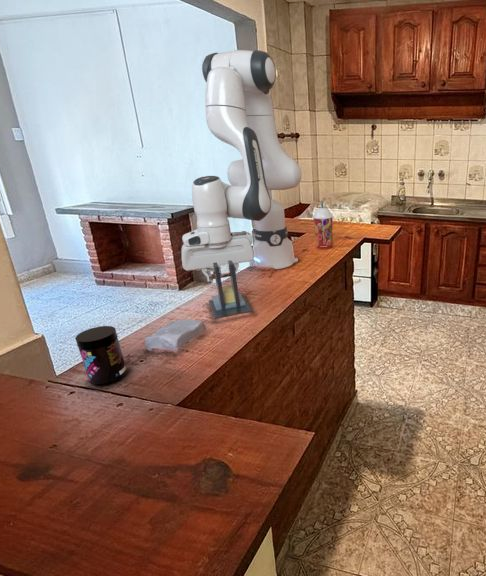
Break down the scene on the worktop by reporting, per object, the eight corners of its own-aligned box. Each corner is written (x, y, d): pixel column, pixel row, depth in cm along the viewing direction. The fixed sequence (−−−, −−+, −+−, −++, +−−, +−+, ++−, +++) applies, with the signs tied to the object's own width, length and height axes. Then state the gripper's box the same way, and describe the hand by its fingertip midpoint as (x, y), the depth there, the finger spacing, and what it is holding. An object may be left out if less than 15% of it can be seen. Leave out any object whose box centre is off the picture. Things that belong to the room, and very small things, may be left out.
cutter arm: (212, 280, 120) (210, 273, 120) (231, 277, 122) (229, 270, 122) (215, 275, 107) (213, 266, 107) (236, 271, 109) (234, 263, 109)
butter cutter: (209, 304, 117) (201, 259, 112) (243, 298, 121) (237, 254, 117) (215, 322, 106) (206, 273, 101) (253, 315, 110) (247, 267, 105)
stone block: (144, 358, 92) (179, 354, 90) (136, 339, 91) (172, 335, 88) (177, 336, 103) (210, 332, 101) (171, 319, 102) (204, 314, 99)
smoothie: (335, 248, 172) (333, 202, 165) (316, 250, 171) (312, 203, 163) (332, 244, 180) (330, 199, 173) (314, 245, 178) (311, 200, 171)
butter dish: (211, 298, 118) (209, 286, 117) (239, 293, 121) (237, 282, 120) (216, 310, 110) (214, 298, 108) (245, 305, 113) (243, 292, 112)
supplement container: (97, 371, 84) (84, 327, 81) (132, 367, 86) (120, 324, 82) (83, 390, 78) (68, 343, 74) (121, 385, 79) (107, 339, 76)
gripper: (249, 228, 122) (254, 270, 127) (176, 236, 114) (185, 281, 119) (253, 232, 117) (258, 276, 122) (177, 241, 108) (186, 288, 113)
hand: (222, 279), depth 120 cm, fingers closed on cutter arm, 5 cm apart
